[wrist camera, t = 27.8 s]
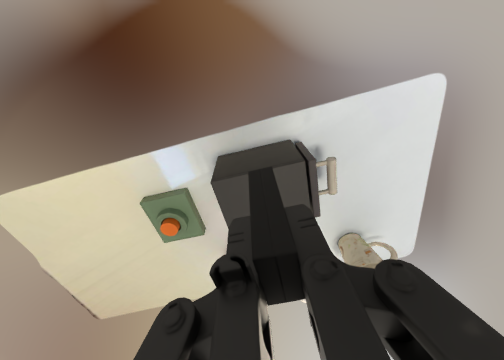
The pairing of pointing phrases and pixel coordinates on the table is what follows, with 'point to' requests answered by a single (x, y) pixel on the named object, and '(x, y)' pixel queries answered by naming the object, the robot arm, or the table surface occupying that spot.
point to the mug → (361, 251)
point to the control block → (174, 213)
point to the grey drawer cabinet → (240, 163)
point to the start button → (170, 227)
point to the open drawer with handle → (312, 177)
